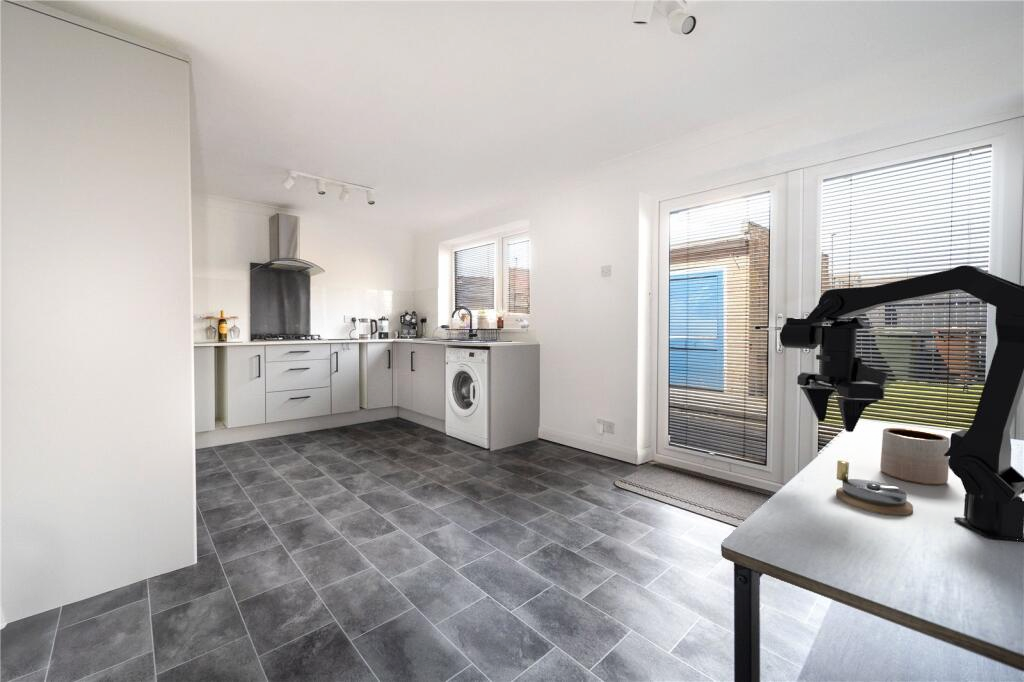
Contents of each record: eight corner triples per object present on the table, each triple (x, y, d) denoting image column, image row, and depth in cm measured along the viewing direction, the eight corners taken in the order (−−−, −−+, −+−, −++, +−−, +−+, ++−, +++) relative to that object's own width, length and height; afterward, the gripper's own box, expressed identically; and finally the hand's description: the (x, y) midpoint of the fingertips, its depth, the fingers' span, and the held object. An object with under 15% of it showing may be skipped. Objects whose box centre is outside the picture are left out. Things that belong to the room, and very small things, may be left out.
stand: (929, 518, 74) (930, 507, 74) (858, 512, 76) (859, 502, 76) (884, 492, 86) (885, 483, 85) (823, 488, 87) (824, 479, 87)
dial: (920, 508, 75) (921, 480, 75) (861, 503, 77) (863, 476, 77) (883, 487, 85) (884, 463, 84) (831, 484, 86) (832, 460, 86)
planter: (918, 469, 100) (921, 428, 99) (962, 487, 89) (966, 441, 88) (868, 467, 101) (870, 426, 100) (905, 485, 90) (908, 439, 89)
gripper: (918, 355, 78) (914, 440, 79) (850, 348, 97) (847, 417, 98) (852, 353, 80) (848, 437, 80) (797, 347, 98) (794, 415, 99)
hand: (834, 426), depth 89 cm, fingers open, 9 cm apart
